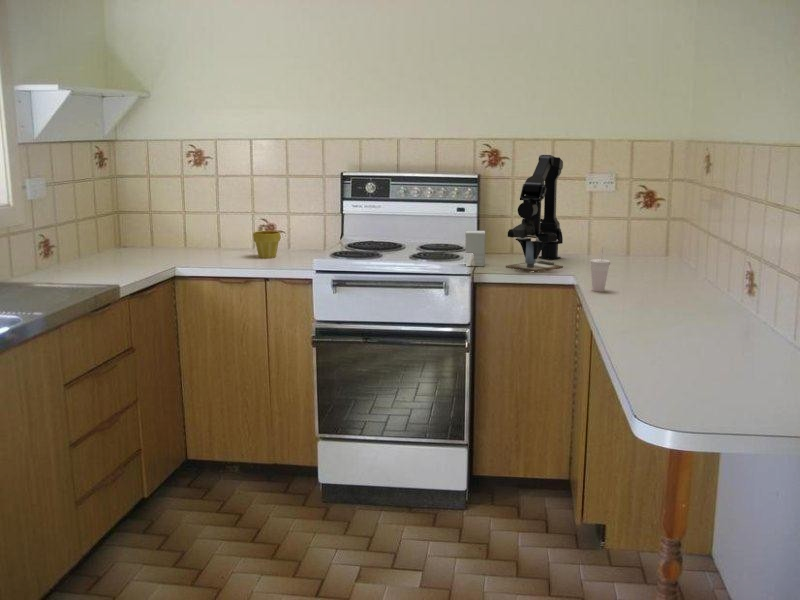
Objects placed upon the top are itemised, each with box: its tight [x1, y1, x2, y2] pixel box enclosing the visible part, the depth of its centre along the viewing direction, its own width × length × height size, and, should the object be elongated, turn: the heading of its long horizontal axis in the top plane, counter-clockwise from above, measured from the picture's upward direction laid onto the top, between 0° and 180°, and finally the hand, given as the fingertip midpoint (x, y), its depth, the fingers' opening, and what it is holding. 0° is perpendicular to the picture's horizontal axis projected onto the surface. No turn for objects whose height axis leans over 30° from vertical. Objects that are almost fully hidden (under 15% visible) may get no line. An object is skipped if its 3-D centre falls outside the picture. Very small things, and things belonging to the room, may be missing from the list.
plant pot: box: [252, 230, 281, 259], centre depth 325 cm, size 10×10×10 cm
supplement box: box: [464, 229, 486, 267], centre depth 312 cm, size 7×7×13 cm
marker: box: [524, 240, 537, 267], centre depth 304 cm, size 4×4×9 cm
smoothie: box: [589, 246, 611, 293], centre depth 265 cm, size 6×6×14 cm
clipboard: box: [505, 260, 564, 273], centre depth 308 cm, size 16×14×1 cm
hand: (530, 258), depth 304 cm, fingers closed on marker, 4 cm apart
